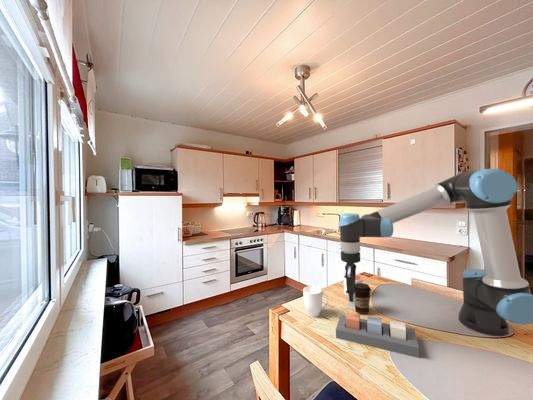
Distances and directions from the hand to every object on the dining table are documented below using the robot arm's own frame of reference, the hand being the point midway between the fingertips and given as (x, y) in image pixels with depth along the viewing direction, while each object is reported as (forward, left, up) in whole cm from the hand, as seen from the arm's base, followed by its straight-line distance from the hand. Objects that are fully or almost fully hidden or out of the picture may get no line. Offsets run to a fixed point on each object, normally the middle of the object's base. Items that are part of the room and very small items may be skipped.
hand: (351, 307), depth 93 cm
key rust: (0, 0, -8) cm, 8 cm away
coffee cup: (-2, -19, -11) cm, 22 cm away
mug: (+18, -9, -11) cm, 23 cm away
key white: (-16, 0, -8) cm, 18 cm away
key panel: (-8, 0, -11) cm, 13 cm away
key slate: (-8, 0, -8) cm, 12 cm away
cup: (+4, -37, -11) cm, 39 cm away
